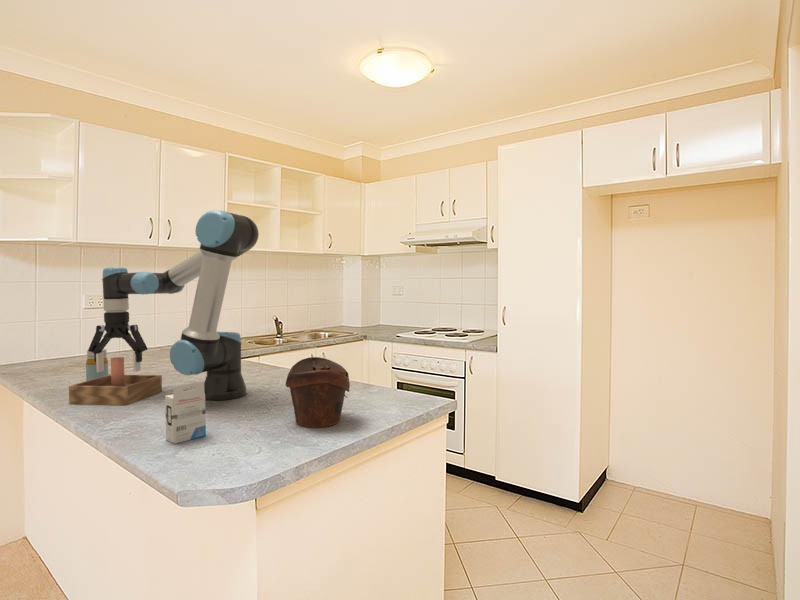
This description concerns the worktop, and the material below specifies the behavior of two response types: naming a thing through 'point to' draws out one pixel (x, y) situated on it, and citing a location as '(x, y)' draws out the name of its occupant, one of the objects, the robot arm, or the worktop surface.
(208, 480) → the worktop surface
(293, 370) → the chocolate muffin
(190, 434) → the ink box
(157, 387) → the crate
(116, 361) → the peg
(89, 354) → the bottle
